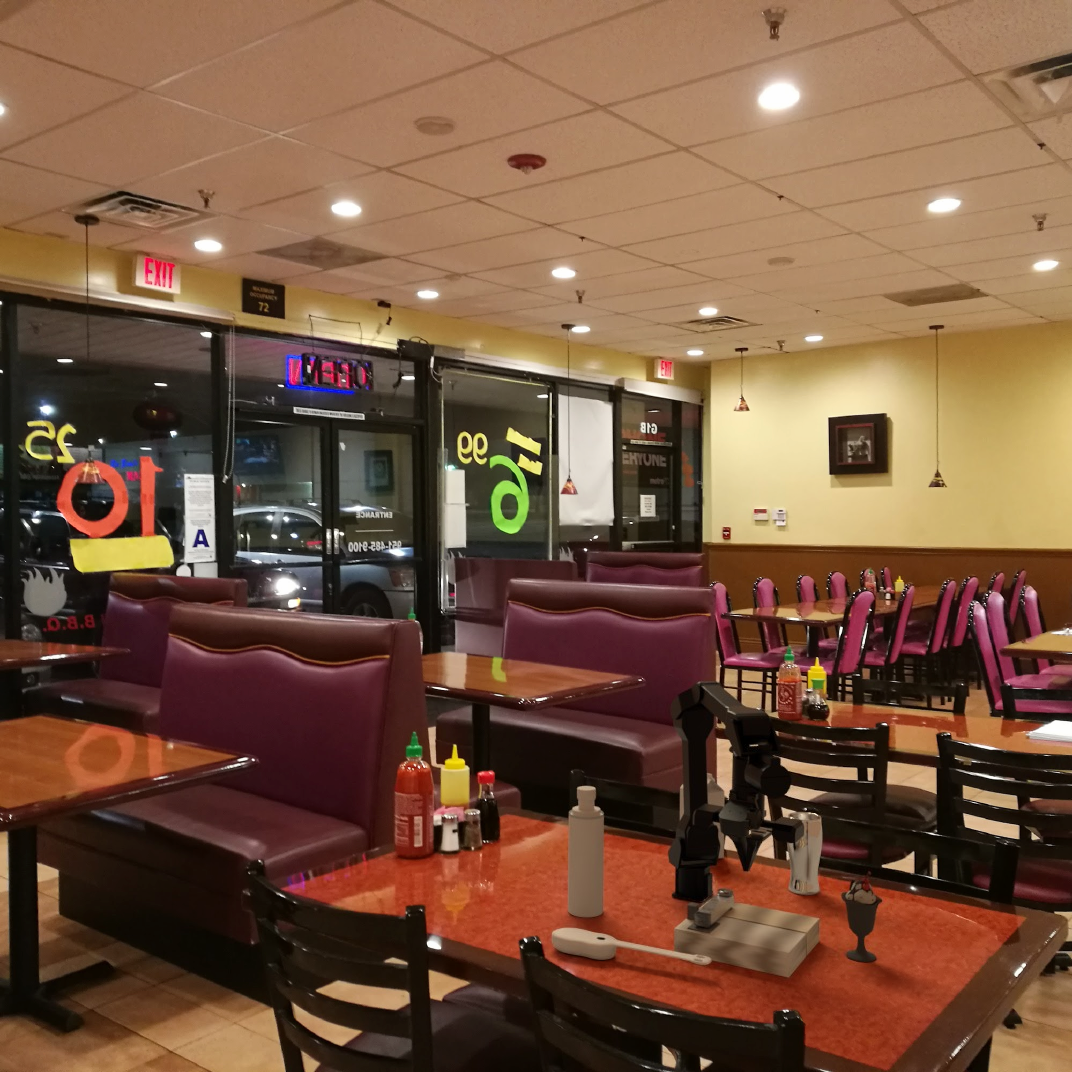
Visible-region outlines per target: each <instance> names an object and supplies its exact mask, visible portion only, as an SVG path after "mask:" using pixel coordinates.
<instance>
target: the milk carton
mask: <svg viewBox="0 0 1072 1072" xmlns="http://www.w3.org/2000/svg"><path fill="white" fill-rule="evenodd" d="M707 785H708V804H712V805H718V806H723V807H724V806H725V790H724V789H723V788H722V787H721V786H720V785H719V784H718V783H716V778H714V777H713V774H712V773H708V772H707ZM683 814H684V797H683V783H682V784H681V786H680V787H679V821H680V820H681V818H682V816H683ZM713 823H714V825H716V826H717V827H718V830H719V832H718V838H719V841H720V852H719V858H718V860H719V859H724V858H725V857H724V856H725V835H724V834H723V833H722V832H721V830H720V823H717V822H713Z"/></svg>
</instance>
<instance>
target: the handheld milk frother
mask: <svg viewBox="0 0 1072 1072" xmlns="http://www.w3.org/2000/svg"><path fill="white" fill-rule="evenodd" d="M551 943H552V945H553V947H554V949H555V950H558V951H559V952H561V953H566V954H568V955H569V954H570V955H575V956H580V957H581V956H582V957H585V958H589V959H593V960H599V961H605V960H609V959H613V958H614V957H615V954H616V951H617V948H621V949H622V948H623V949H627V950H634V951H638V952H644V953H647V954H654V955H659V956H664V957H668V958H669V957H670V958H674V959H679V960H684V961H687V962H690V963H692V964H696V965H700V966H706V965H709V964H711V963H712V962H713V960H712V959H711V958H709V957H707V956H703V955H691V954H685V953H680V952H675V951H674V950H669V949H664V948H658V947H653V946H650V945H649V946H647V945H643V944H638V943H633V942H629V941H623V940H618V939H616V938H615V937H613V936H611V935H610V934H607V933H606V934H605V933H602V932H601V933H599V932H593V931H589V930H586V929H583V928H576V927H561V928H556V929H555V930H553V931H552V933H551Z"/></svg>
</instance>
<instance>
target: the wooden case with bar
mask: <svg viewBox="0 0 1072 1072" xmlns="http://www.w3.org/2000/svg"><path fill="white" fill-rule="evenodd" d="M712 898H713V897H711V898H710V899H709V900H708V901H706V902H704V904H703V905H702V906H700V904H699V903H696V902H689V903H688V904H687V905H686V918H685V919H684V920H683V921H681V923H679V924H678V925H677V926H675V927H674V929H673V931H674V933H673V934H674V936H673V937H674V938H673V951H675V952H680V953H685V954H691V955H703V956H707V957H709V958H711V959H712V962H718V963H722V964H727V965H731V966H734V967H735V966H736V967H738V968H739V967H740V968H744V969H749V970H753V971H757V972H762V973H766V974H771V975H776V976H779V977H784V978H787V979H788V978H790V977H791V975H792V974H793V973H794V972H795V971H796V969H798V967H799V966H800V965H801V964H802V962H803V961H804V960H805V959H806V957H807V956H808V955H809V954H810V953H811V952H812V950H813V949H814V948H815V947H816V946H817V944H818V943H819V942H820V918H819V917H815V916H808V915H805V914H799V913H795V912H794V913H793V912H788V911H784V910H779V909H778V910H777V909H774V908H773V909H772V908H768V907H762V906H757V905H752V904H747V903H741V902H737V901H734V905H733V906H732V907H731V908H730V909H729V910H728V911H727V912H725V913H724V914H723V915H722V916H721V917H720V918H719V919H718V920H717V921H715V922H714V923H713V924H712V925H711V926H710V927H709V928H705V927H700V926H696V925H694V913H695V912H696V911H698V910H699V909H700V908H702V907H703V906H704V905H705V904H706V903H708V902H709V901H710V900H711V899H712Z"/></svg>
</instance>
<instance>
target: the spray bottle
mask: <svg viewBox="0 0 1072 1072" xmlns="http://www.w3.org/2000/svg"><path fill="white" fill-rule="evenodd" d="M596 798H597V789H596V787H594V786H591V785H582V786H577V788H576V799H577V800H578V801H577V802H578V805H576V806H572V809H571V810H569V811H568V844H567V845H568V846H567V847H568V850H567V851H568V857H567V858H568V859H567V861H568V862H567V863H568V864H567V865H568V868H567V870H568V871H567V875H568V876H567V911H568V913H569V914H570V915H572V916H573V917H574V916H575V917H578V918H594V917H598V916H601V915H602V914H603V912H604V863H605V862H604V861H605V860H604V859H605V858H604V854H605V853H604V852H605V851H604V850H605V849H604V847H605V846H604V844H605V843H604V841H605V839H604V838H605V837H604V834H605V827H604V825H605V823H604V822H605V819H604V818H605V815H604V814H605V813H604V811H603V810H601V808H600V807H599V806H595V800H596Z"/></svg>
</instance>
